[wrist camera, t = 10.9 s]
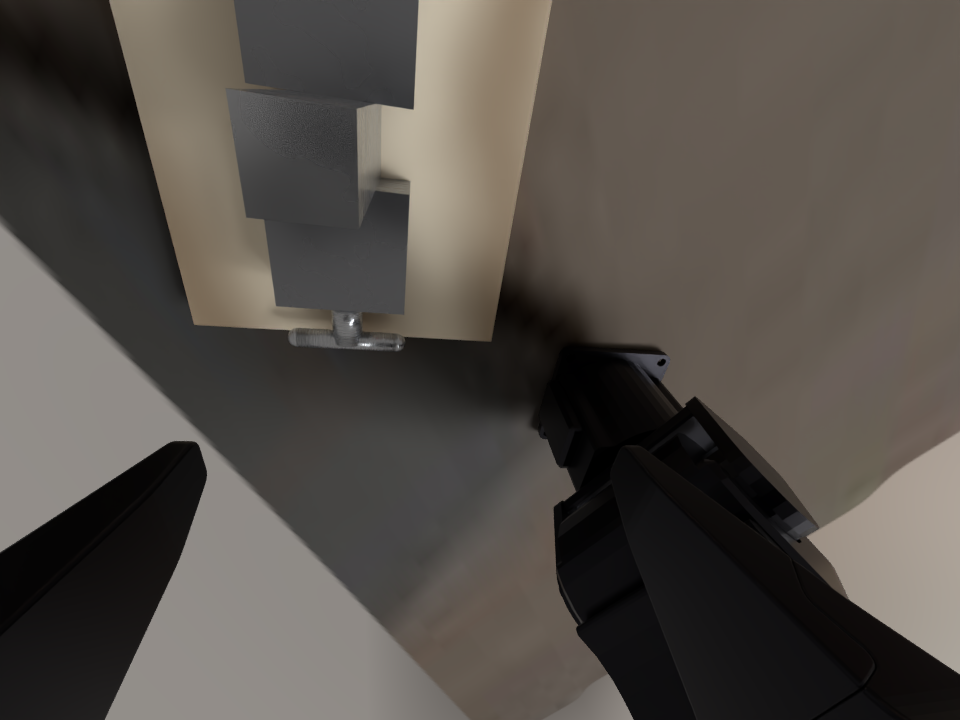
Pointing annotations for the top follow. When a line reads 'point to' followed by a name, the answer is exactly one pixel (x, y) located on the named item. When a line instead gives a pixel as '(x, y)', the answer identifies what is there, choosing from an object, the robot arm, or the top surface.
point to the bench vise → (327, 156)
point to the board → (404, 156)
